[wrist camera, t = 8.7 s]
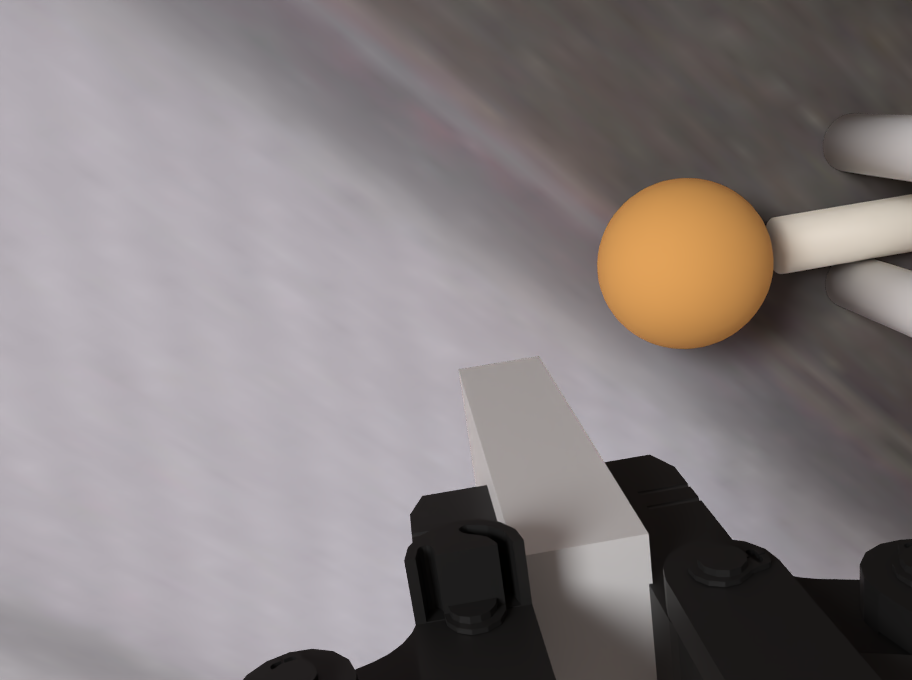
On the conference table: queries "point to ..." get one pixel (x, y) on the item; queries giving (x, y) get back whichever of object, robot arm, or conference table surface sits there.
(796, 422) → the conference table surface
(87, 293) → the conference table surface
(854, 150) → the pin
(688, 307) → the ball
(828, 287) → the pin
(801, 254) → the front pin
